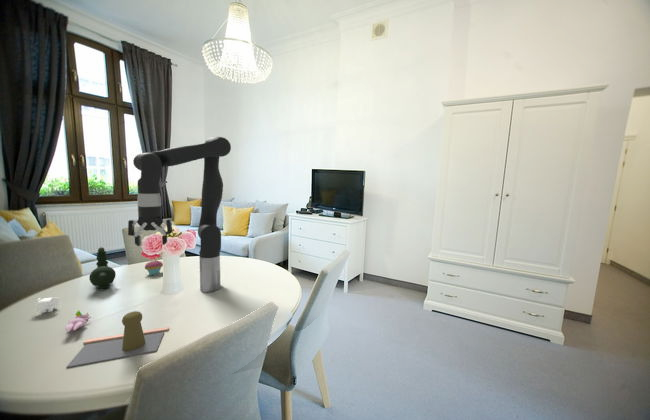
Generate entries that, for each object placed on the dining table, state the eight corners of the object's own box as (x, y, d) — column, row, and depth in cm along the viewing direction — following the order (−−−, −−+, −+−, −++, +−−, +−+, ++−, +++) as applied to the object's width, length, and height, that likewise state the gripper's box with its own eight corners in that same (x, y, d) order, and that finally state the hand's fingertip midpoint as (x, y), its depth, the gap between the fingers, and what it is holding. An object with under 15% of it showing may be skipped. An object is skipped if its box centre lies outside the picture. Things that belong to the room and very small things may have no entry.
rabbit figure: (72, 323, 94) (58, 339, 82) (71, 307, 94) (57, 320, 82) (94, 319, 98) (84, 333, 85) (93, 303, 98) (83, 315, 85)
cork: (133, 352, 78) (131, 320, 76) (117, 349, 79) (114, 317, 77) (149, 340, 83) (148, 310, 82) (134, 338, 84) (132, 307, 83)
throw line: (169, 328, 91) (168, 326, 91) (168, 330, 90) (168, 329, 90) (85, 341, 82) (85, 339, 82) (83, 344, 81) (83, 342, 81)
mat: (164, 333, 88) (164, 332, 88) (156, 351, 79) (156, 350, 79) (85, 345, 80) (85, 344, 80) (66, 368, 71) (66, 366, 71)
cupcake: (153, 270, 146) (153, 250, 144) (166, 271, 145) (166, 251, 143) (141, 275, 137) (140, 254, 136) (155, 276, 136) (154, 255, 135)
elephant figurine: (28, 317, 95) (27, 302, 94) (47, 306, 103) (46, 293, 102) (50, 315, 96) (48, 301, 95) (66, 305, 104) (65, 292, 103)
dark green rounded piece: (91, 283, 129) (89, 296, 111) (88, 247, 128) (86, 255, 110) (115, 278, 136) (117, 291, 117) (112, 244, 134) (114, 251, 116)
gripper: (172, 203, 103) (174, 241, 105) (131, 203, 98) (133, 243, 100) (168, 205, 96) (170, 246, 98) (123, 205, 91) (126, 248, 93)
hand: (151, 244), depth 99 cm, fingers open, 8 cm apart
